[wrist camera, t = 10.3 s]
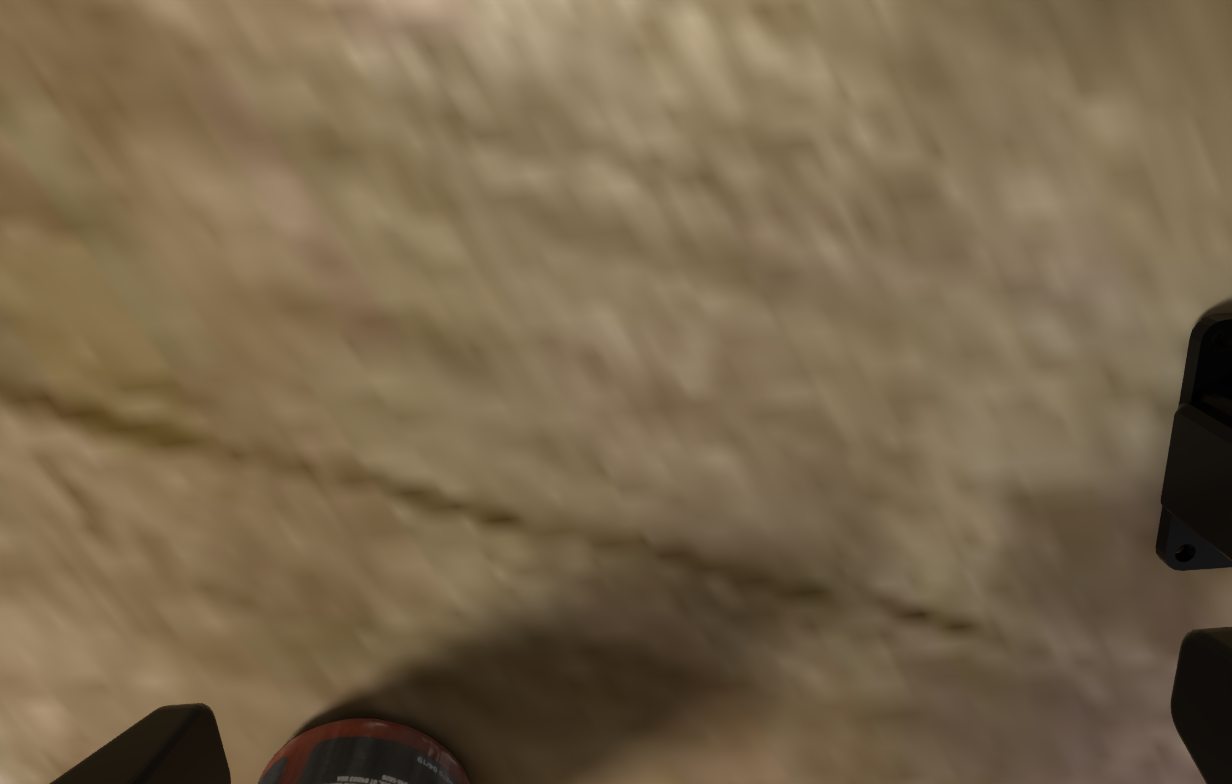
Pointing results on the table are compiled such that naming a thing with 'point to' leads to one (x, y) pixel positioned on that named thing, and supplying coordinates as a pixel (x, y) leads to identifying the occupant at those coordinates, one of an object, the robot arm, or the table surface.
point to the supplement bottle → (363, 756)
